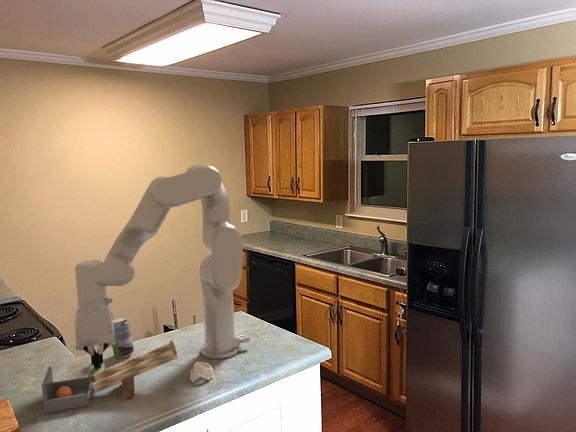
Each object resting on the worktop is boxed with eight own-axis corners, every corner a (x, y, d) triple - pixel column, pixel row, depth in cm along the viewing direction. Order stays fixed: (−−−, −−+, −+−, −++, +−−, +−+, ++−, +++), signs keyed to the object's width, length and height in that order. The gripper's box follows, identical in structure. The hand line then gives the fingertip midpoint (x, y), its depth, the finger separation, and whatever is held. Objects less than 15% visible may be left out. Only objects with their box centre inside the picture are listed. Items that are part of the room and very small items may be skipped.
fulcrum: (134, 381, 130) (132, 363, 129) (134, 398, 121) (133, 379, 120) (123, 383, 129) (121, 364, 128) (122, 400, 120) (120, 381, 119)
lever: (174, 339, 140) (169, 327, 139) (179, 362, 125) (174, 349, 124) (92, 373, 134) (87, 361, 133) (87, 402, 118) (81, 388, 117)
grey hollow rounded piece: (188, 376, 134) (185, 360, 134) (210, 370, 137) (208, 354, 136) (193, 387, 127) (190, 370, 126) (217, 380, 129) (214, 363, 129)
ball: (54, 392, 121) (65, 399, 122) (51, 398, 117) (63, 406, 118) (63, 381, 121) (75, 388, 122) (61, 387, 118) (73, 395, 119)
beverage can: (127, 360, 143) (124, 323, 141) (106, 359, 145) (103, 322, 143) (138, 352, 149) (135, 316, 147) (117, 350, 151) (114, 315, 149)
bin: (92, 388, 127) (90, 360, 126) (89, 407, 117) (86, 377, 116) (51, 395, 124) (48, 366, 122) (44, 415, 114) (41, 384, 113)
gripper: (121, 297, 135) (125, 357, 138) (65, 303, 130) (70, 365, 133) (120, 305, 128) (125, 367, 130) (61, 312, 123) (67, 377, 126)
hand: (97, 366), depth 132 cm, fingers closed
